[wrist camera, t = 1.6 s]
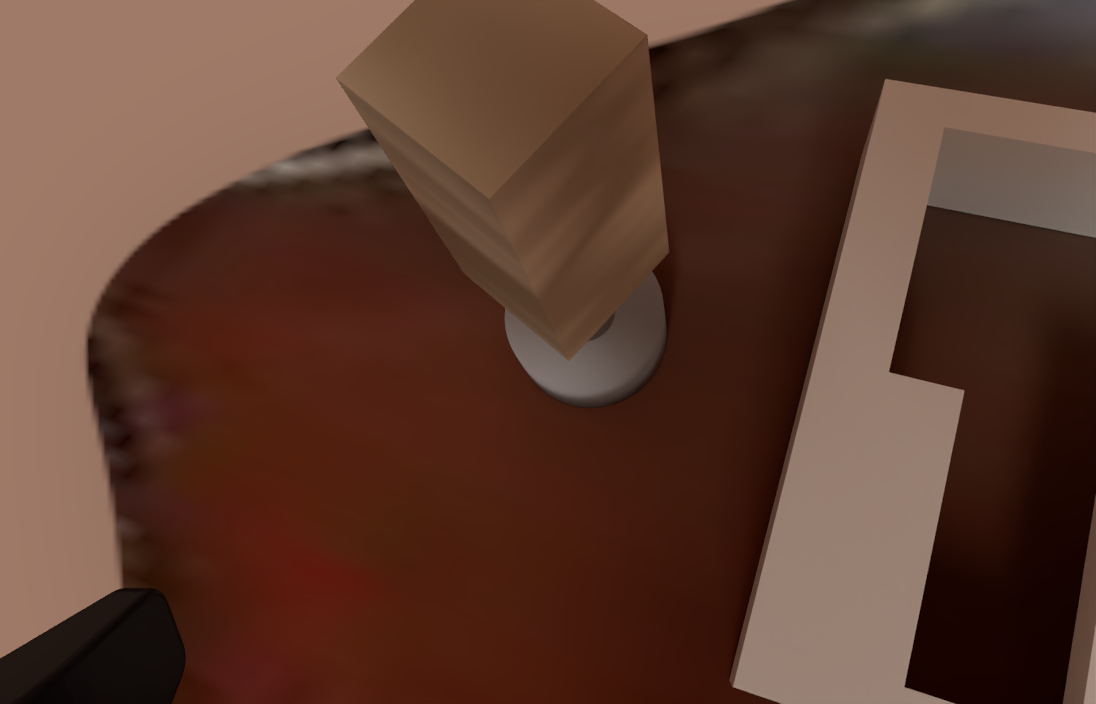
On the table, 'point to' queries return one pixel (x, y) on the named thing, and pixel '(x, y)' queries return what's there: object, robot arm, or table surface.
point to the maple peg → (534, 174)
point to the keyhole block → (897, 404)
